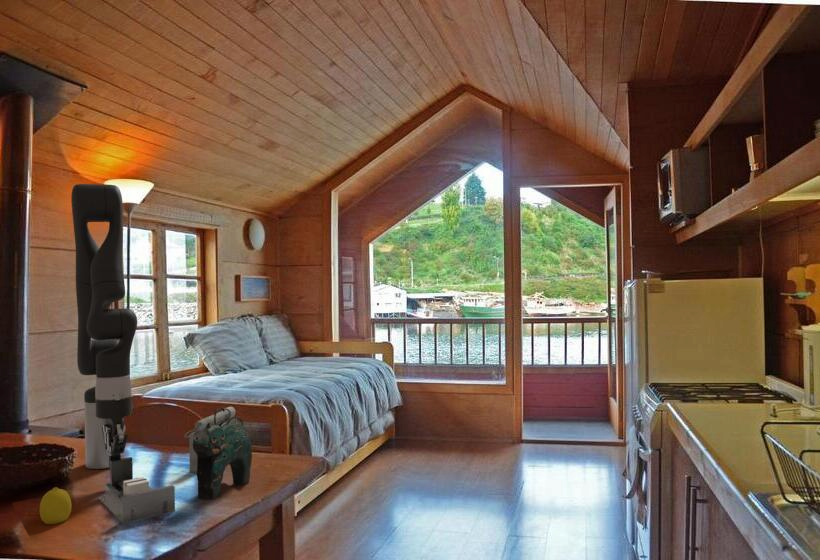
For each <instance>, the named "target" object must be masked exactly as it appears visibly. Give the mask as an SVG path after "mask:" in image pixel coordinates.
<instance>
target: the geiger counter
mask: <svg viewBox="0 0 820 560" xmlns="http://www.w3.org/2000/svg"><path fill="white" fill-rule="evenodd" d="M224 409H225V411H224V412H223V410H222V409H221V411H219V412H217V414H216V425H217V424H219V423H221V422H224V423H226V422H227V421H228V420H229V419H230V418H232V417H236V412H237V411H236V409H235V407H234V406H228V407H224ZM208 423H209V425H215V423H214V414H212V415H210V416H206V417H205V418H203V419H200V420H198V421H196V422H195V423H194V428H193V429H191V430H188V431H187V432H185V433H184V435H183V438H185V439H188V438H189V440H188V441H189V443H188V444H189V446H188V447H189V473H197V454H196V452H195V451H194V449H193V437H194V433H195V431H196V430H197V428H198V427H200V426H202V425H207V424H208ZM224 423H223V424H224ZM229 423H238V419H232V420H231V421H230V422H229Z"/></svg>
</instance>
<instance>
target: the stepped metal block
mask: <svg viewBox="0 0 820 560" xmlns="http://www.w3.org/2000/svg"><path fill="white" fill-rule="evenodd" d="M109 471H110V472H109V478H110V484H111V485H112V486H113V487H114V488H115V489H117V490H118V491H119V492H120V493H121V494H122V495H123V496H124V494H123V481H127V480H131V479H134V477H133V475H134V474H133V457H131V456H128V457H124V458H122V459H117V460H111V461H110V470H109Z"/></svg>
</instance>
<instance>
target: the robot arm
mask: <svg viewBox="0 0 820 560" xmlns="http://www.w3.org/2000/svg"><path fill="white" fill-rule="evenodd" d="M70 196H71V197H70V198H71V201H70V203H71V212H72V213H71V214H72V224H73V234H74V242H75V243H74V245H75V292H76V306H77V320H78V321H77V352H76V353H77V354H76V355H77V356H76V358H77V359H76V360H77V369H78V371H79V373H80V374H81V375H82V376H96V377H95V378H96V379H95V385H94V386H93V387H90V388H88V389H86V390H85V392H84V394H83V401H84V440H85V441H84V443H85V444H84V447H85V449H84V451H85V452H84V453H85V455H84V457H85V468H87V469H89V470H90V469H92V470H100V469H107V468H108V470H109V471H110V461H111V460H117V459H122V458H125V449H126V445H127V441H128V433H125V432H126V424H125V423H124V418H125V417H128V416H131V414H132V411H133V408H132V405H133V404H132V402H133V401H132V398H133V397H132V381H131V375H130V374H131V368H130V367H131V366H130V360H131V359H130V357H131V351H132V346H133V341H134V337H135V335H136V331H137V328H138V327H137V326H138V316H137V315H136V313H135V312H134V310H133V309H130V308H126V307H125V308H110V307H111V306H112V304H113V303H115V302H119V301H121V300H123V299H124V297H125V295H126V286H125V277H124V268H123V247H124V246H123V242H124V241H123V240H124V207H123V206H124V205H123V204H124V203H123V196H122V192H121V190H120V188H119V187H118V186H117V185H115V184H99V183H77V184H75V185H74V186H73V187H72V191H71V195H70ZM88 223H109V227H108V231H107V234H106V236H105V239H104V241H103V242H102V244H101V245H100V247H99V246H98V244H97V243H96V240H95V239H94V238H93V236H92V234H91V232H90V229H89V226H88Z"/></svg>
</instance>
